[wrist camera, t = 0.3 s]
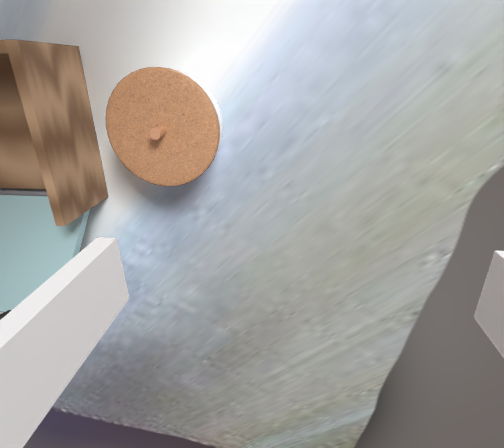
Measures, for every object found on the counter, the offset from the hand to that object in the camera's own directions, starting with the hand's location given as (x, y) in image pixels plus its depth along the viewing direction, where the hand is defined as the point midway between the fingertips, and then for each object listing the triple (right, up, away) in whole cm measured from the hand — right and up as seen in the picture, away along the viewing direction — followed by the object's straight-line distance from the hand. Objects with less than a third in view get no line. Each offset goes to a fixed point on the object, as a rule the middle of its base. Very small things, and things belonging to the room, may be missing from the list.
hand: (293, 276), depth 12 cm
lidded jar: (-9, +14, +26) cm, 31 cm away
